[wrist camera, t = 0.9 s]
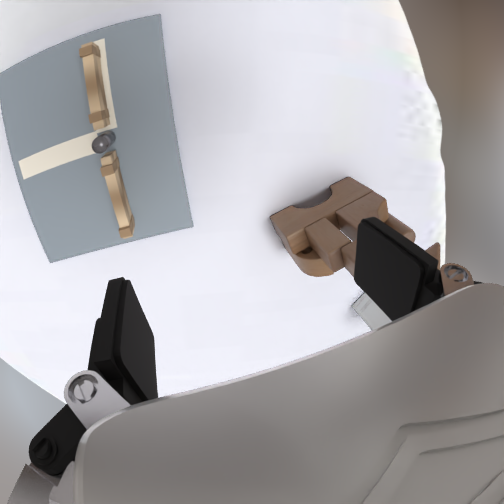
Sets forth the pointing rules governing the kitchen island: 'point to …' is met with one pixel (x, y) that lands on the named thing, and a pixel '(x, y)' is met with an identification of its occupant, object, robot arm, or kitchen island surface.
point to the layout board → (82, 135)
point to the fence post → (103, 142)
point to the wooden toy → (335, 228)
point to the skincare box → (370, 312)
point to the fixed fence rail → (94, 85)
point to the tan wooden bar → (117, 193)
